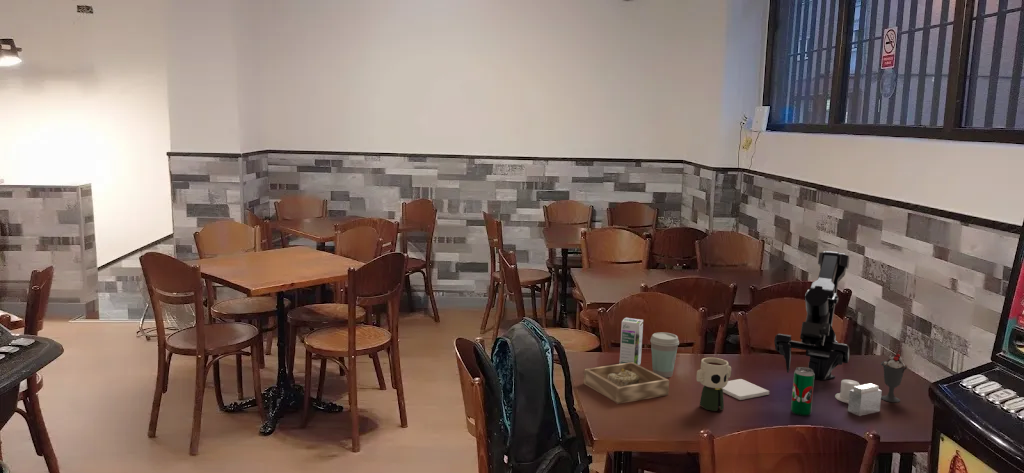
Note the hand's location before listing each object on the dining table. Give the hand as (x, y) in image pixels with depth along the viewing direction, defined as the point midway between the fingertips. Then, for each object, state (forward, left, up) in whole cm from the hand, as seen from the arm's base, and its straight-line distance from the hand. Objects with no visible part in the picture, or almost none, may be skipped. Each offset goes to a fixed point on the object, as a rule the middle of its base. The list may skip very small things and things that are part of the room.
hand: (805, 375), depth 201 cm
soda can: (+2, +1, -10) cm, 10 cm away
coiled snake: (+35, -33, -9) cm, 49 cm away
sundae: (-30, +4, -10) cm, 32 cm away
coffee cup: (+17, -38, -10) cm, 43 cm away
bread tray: (+35, -32, -10) cm, 48 cm away
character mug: (+22, -11, -10) cm, 26 cm away
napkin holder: (-15, +7, -10) cm, 19 cm away
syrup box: (+21, -49, -10) cm, 54 cm away
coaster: (+5, -18, -10) cm, 21 cm away
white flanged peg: (-19, -1, -10) cm, 21 cm away
